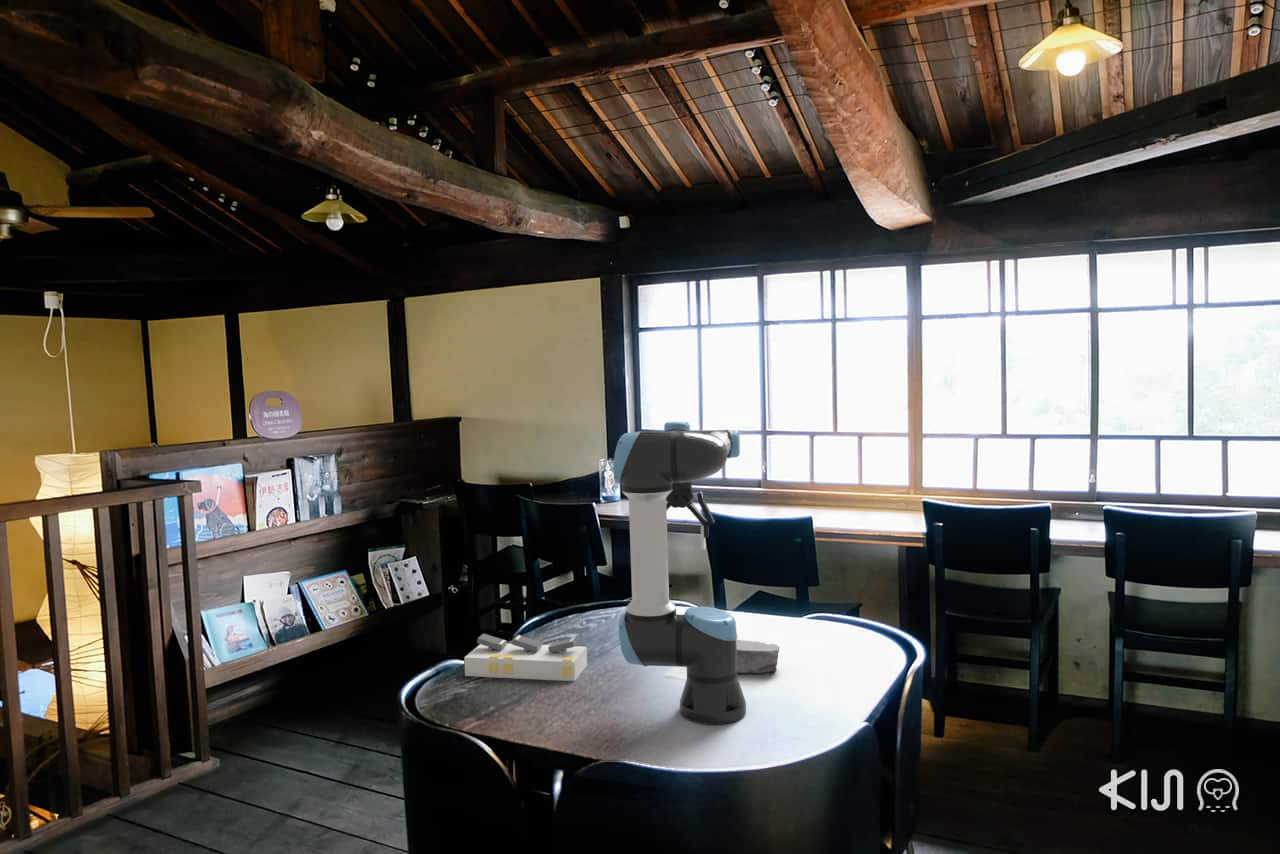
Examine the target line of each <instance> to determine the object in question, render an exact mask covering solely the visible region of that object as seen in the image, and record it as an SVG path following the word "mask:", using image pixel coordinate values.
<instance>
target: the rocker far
mask: <svg viewBox="0 0 1280 854" xmlns="http://www.w3.org/2000/svg"><path fill="white" fill-rule="evenodd" d="M476 644H478V645H480V644H481V645H484V646H488V647H491V648H494V649H497V650H500V651H501V650H502V649H503V648H504V647H505V646H506V644H508V640H507V639H506V640H505V639H502V638H499V637H496V636H493V635H490V634H487V633H482V634H481V635H480V636H478V637H477V640H476Z"/></svg>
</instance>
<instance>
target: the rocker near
mask: <svg viewBox="0 0 1280 854" xmlns="http://www.w3.org/2000/svg"><path fill="white" fill-rule="evenodd" d="M578 643H579V639H578V638H577V636H574V637H570V638H567V639H562V640H558V641H553V642H552V643H551V644H549V645H550V646H549V647H548V649H549V653H550V652H554V651H559V650H563V649H567V648H571V647H574V646H576V645H578Z"/></svg>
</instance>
